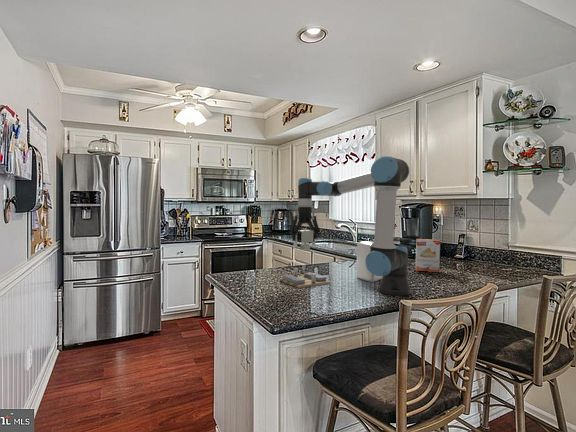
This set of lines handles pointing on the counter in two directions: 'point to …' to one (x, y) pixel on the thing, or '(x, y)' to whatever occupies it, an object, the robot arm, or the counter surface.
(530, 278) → the counter surface
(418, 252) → the cracker box
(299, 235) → the pneumatic valve
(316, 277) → the hinge leaves
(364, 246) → the soap dispenser
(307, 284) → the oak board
